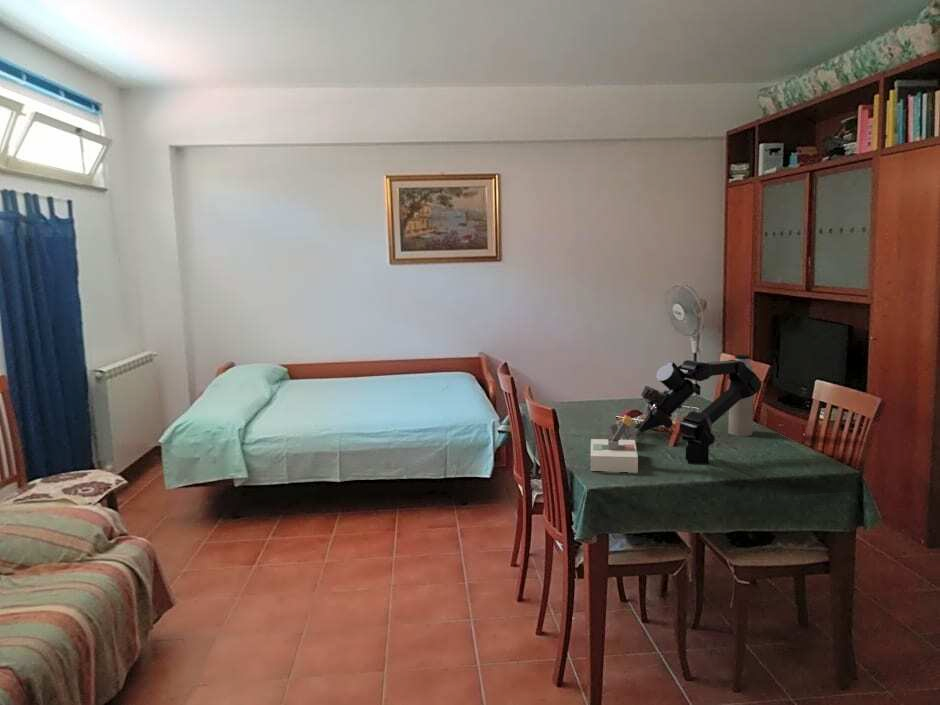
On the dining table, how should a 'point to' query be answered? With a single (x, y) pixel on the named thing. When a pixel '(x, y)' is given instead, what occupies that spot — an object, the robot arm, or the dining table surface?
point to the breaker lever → (622, 428)
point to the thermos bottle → (742, 409)
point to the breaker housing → (614, 455)
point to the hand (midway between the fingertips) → (639, 430)
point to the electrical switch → (628, 433)
